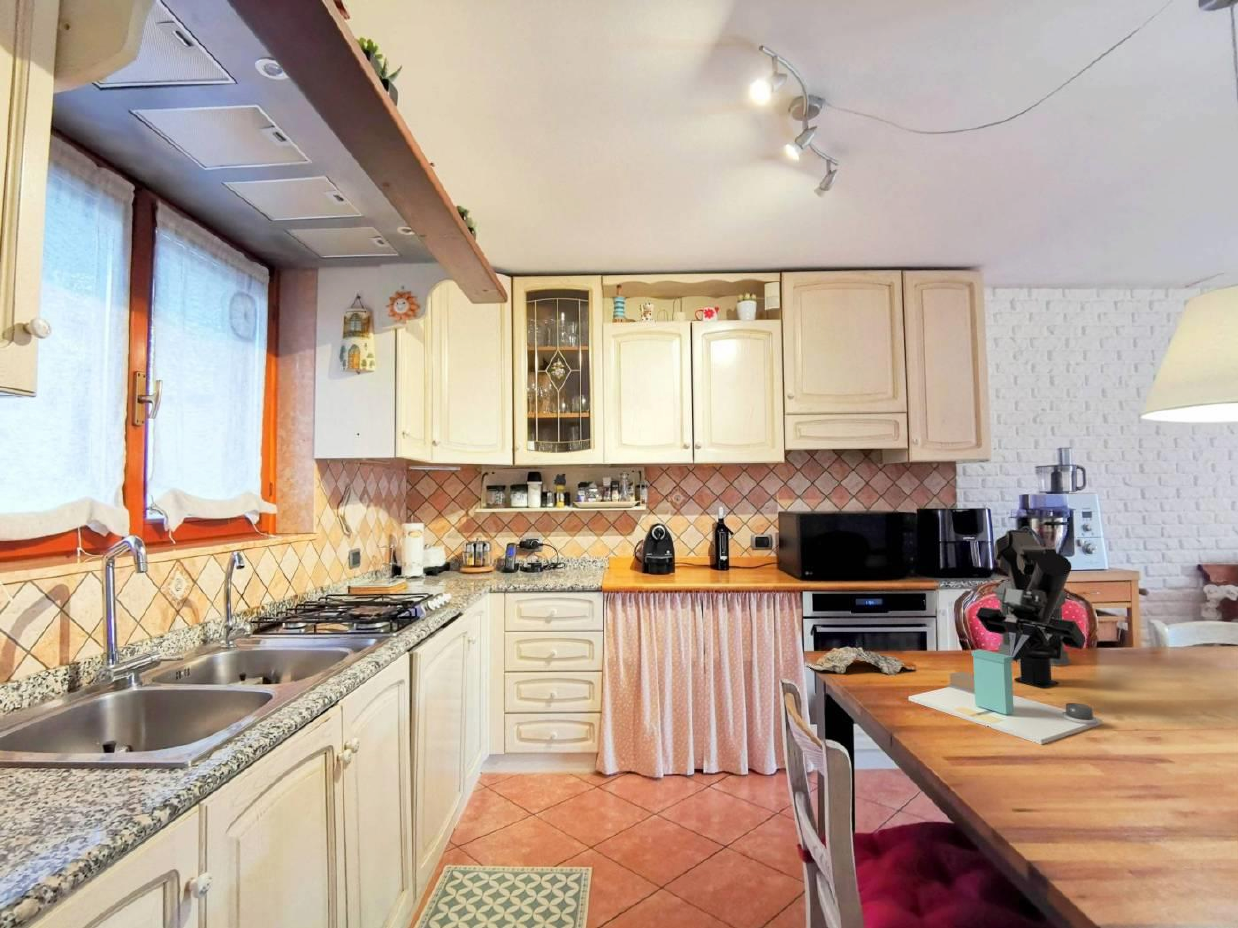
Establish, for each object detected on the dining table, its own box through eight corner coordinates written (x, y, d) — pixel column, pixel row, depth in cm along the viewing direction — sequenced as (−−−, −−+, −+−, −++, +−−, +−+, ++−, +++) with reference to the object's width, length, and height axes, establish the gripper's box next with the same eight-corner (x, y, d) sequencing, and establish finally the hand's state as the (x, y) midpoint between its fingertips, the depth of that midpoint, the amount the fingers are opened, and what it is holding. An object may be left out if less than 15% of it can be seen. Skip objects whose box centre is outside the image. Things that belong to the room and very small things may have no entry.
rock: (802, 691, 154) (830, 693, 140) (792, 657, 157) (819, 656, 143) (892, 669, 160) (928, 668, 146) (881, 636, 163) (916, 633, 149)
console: (965, 685, 136) (964, 669, 136) (1105, 724, 112) (1104, 705, 112) (906, 699, 127) (905, 682, 127) (1045, 745, 103) (1044, 724, 103)
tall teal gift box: (982, 702, 121) (980, 649, 122) (1015, 712, 116) (1012, 656, 116) (973, 704, 120) (971, 650, 121) (1006, 714, 114) (1004, 658, 115)
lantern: (1086, 661, 155) (1078, 526, 157) (1048, 670, 148) (1041, 528, 150) (1019, 647, 170) (1013, 524, 172) (982, 654, 163) (976, 525, 165)
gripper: (979, 569, 133) (950, 625, 127) (1074, 579, 116) (1046, 643, 111) (1001, 602, 136) (974, 658, 130) (1097, 616, 120) (1071, 680, 114)
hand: (1012, 659), depth 121 cm, fingers closed
